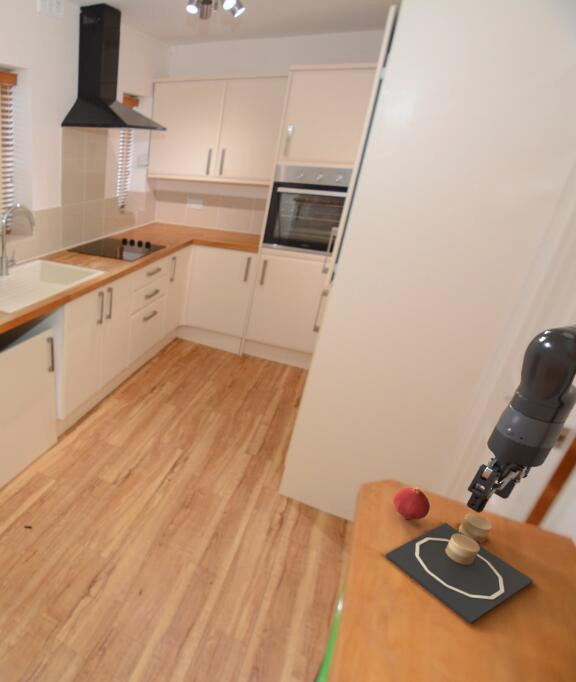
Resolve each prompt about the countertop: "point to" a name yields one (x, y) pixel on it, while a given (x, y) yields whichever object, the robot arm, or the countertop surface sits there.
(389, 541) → the countertop surface
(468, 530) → the dot
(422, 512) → the onion
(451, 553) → the dot
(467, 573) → the slate board
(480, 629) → the countertop surface
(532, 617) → the countertop surface
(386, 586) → the countertop surface
